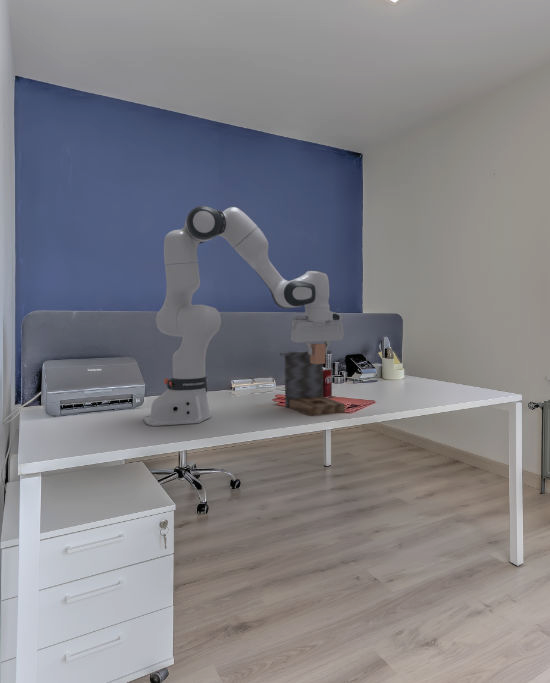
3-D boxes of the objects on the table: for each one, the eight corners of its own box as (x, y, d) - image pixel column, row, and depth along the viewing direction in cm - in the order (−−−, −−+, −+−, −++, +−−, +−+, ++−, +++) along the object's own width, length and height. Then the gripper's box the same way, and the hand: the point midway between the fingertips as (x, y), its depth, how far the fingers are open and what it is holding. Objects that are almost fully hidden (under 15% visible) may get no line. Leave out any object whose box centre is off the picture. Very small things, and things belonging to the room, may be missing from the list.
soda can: (331, 395, 199) (331, 367, 198) (332, 398, 192) (332, 369, 191) (314, 395, 200) (314, 367, 199) (314, 398, 193) (314, 369, 192)
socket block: (302, 417, 159) (302, 356, 158) (280, 407, 176) (279, 352, 175) (351, 411, 168) (351, 353, 166) (326, 402, 184) (325, 349, 183)
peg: (315, 364, 166) (315, 344, 166) (310, 362, 170) (310, 343, 169) (325, 363, 168) (325, 344, 167) (319, 362, 171) (319, 343, 171)
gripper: (295, 316, 160) (296, 356, 161) (345, 315, 169) (345, 353, 170) (287, 316, 166) (288, 355, 167) (336, 315, 174) (336, 352, 175)
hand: (317, 354), depth 168 cm, fingers closed on peg, 4 cm apart
